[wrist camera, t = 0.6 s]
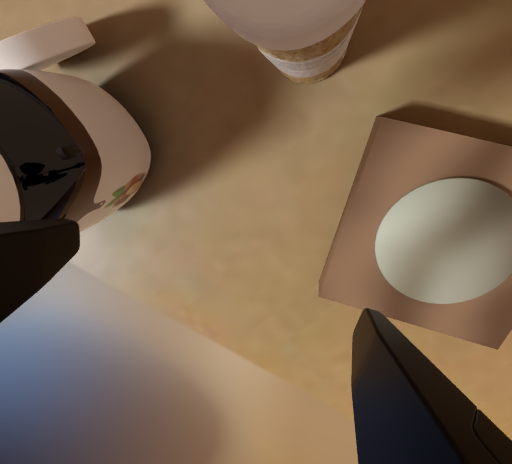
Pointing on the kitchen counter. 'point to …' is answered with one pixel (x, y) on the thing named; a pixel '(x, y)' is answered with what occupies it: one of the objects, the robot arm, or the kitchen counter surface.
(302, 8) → the sprinkles bottle
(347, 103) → the kitchen counter surface
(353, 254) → the walnut plinth
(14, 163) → the spread jar
